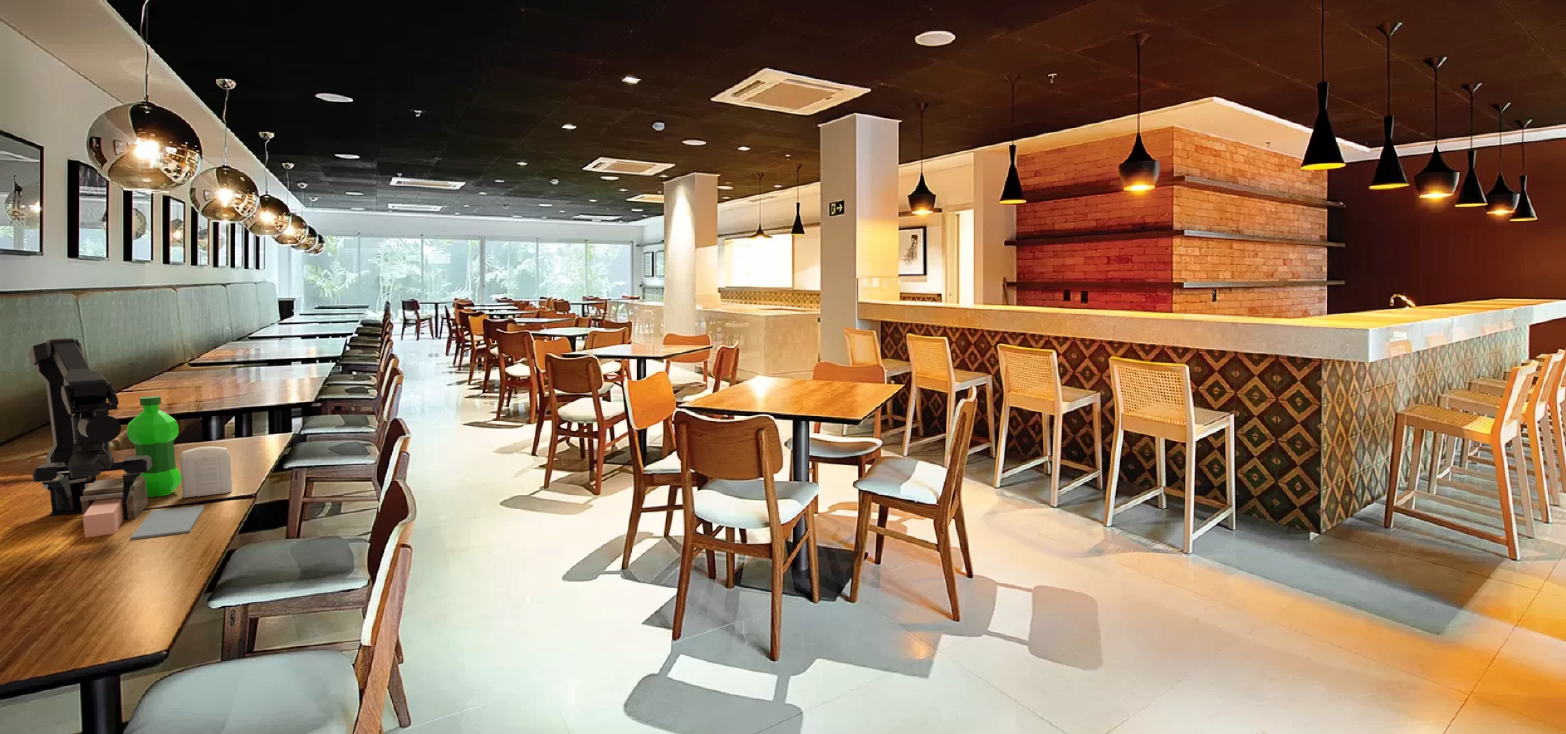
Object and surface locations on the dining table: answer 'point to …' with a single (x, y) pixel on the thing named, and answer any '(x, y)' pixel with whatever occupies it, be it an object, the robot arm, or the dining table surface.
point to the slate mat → (168, 522)
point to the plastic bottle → (156, 446)
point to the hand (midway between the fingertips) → (98, 506)
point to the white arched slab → (205, 471)
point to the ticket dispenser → (116, 494)
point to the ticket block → (104, 516)
